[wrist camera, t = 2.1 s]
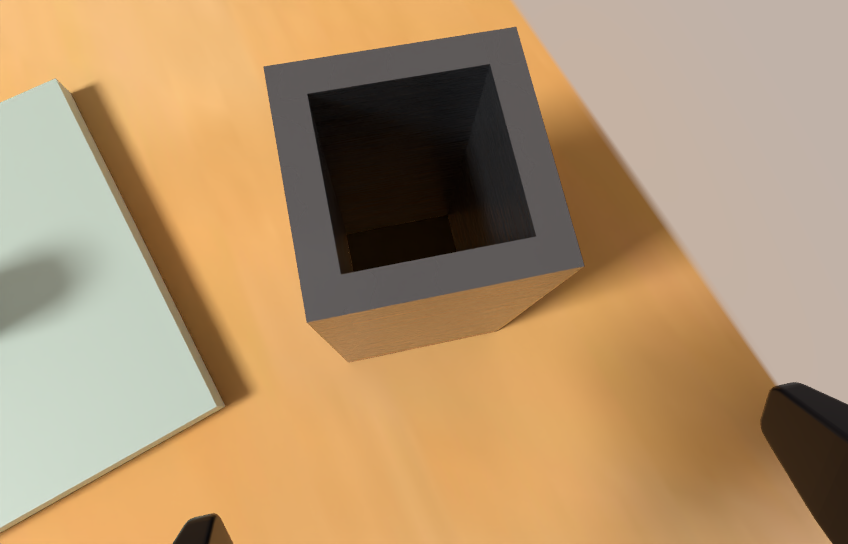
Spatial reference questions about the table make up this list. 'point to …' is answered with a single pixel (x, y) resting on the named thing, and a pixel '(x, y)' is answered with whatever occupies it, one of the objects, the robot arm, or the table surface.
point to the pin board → (79, 316)
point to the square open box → (420, 188)
